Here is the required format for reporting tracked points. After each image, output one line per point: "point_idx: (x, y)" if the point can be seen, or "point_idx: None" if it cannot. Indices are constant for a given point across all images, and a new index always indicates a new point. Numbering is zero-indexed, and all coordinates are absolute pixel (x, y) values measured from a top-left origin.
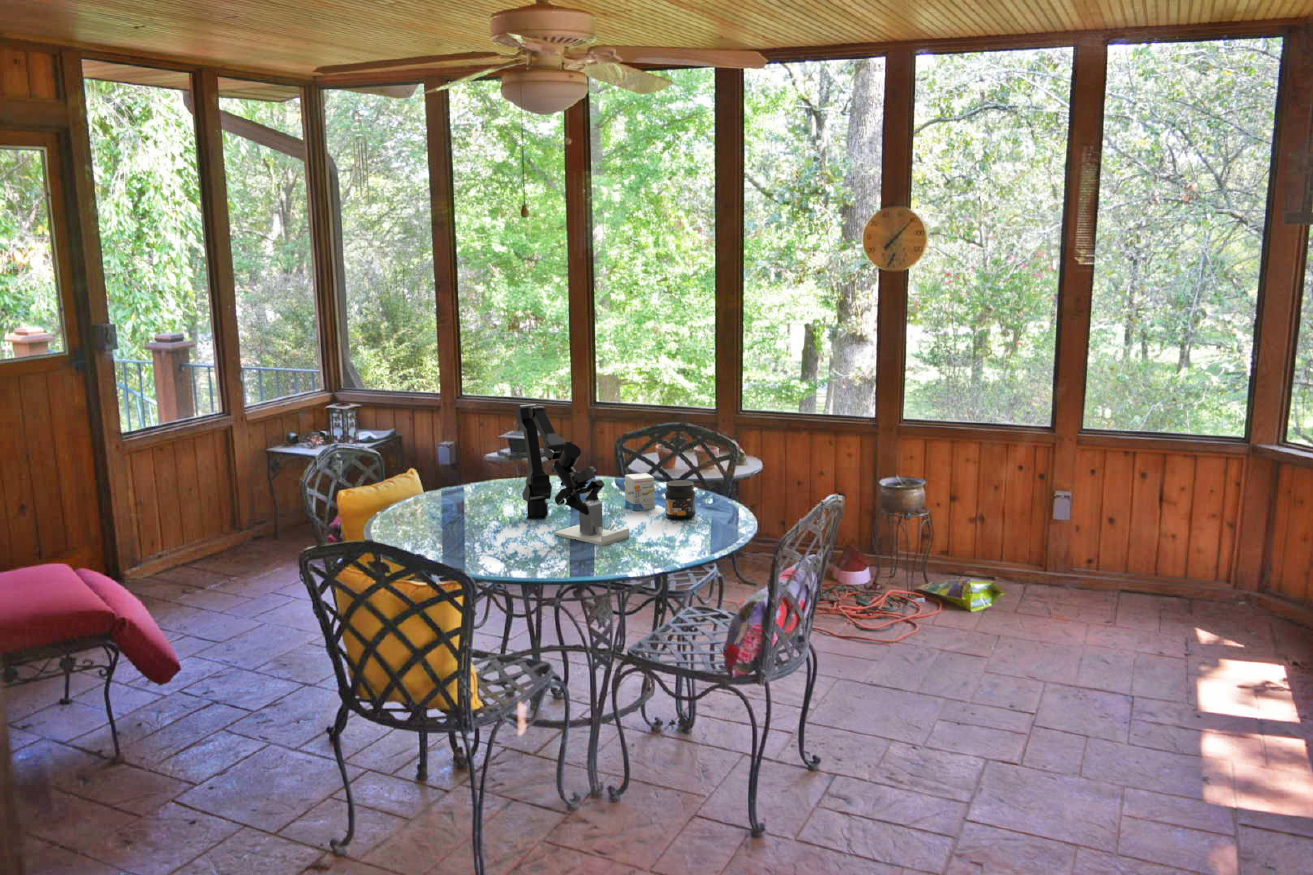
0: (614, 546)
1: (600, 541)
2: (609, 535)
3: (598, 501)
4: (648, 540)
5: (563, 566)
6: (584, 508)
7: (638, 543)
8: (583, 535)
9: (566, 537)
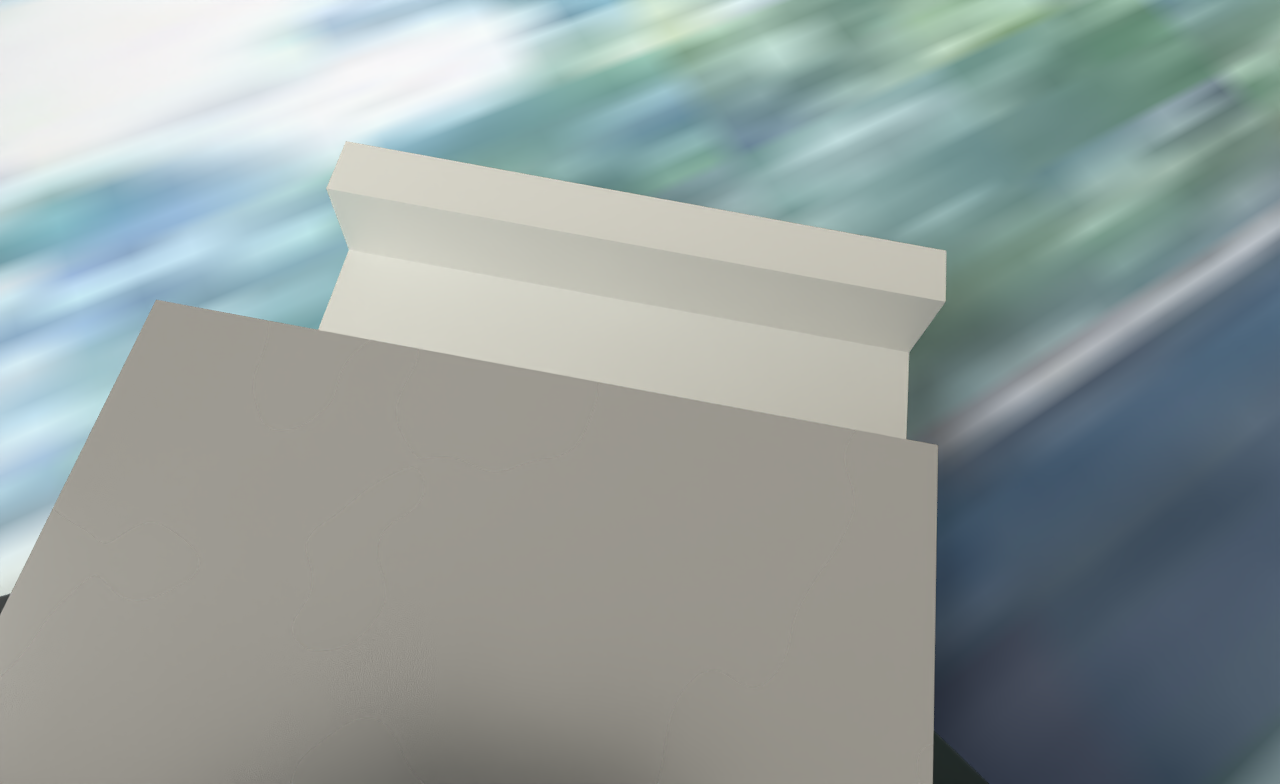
0: (847, 210)
1: (892, 377)
2: (816, 234)
3: (260, 407)
4: (428, 6)
5: None
6: (965, 771)
7: (594, 46)
8: None
9: None
